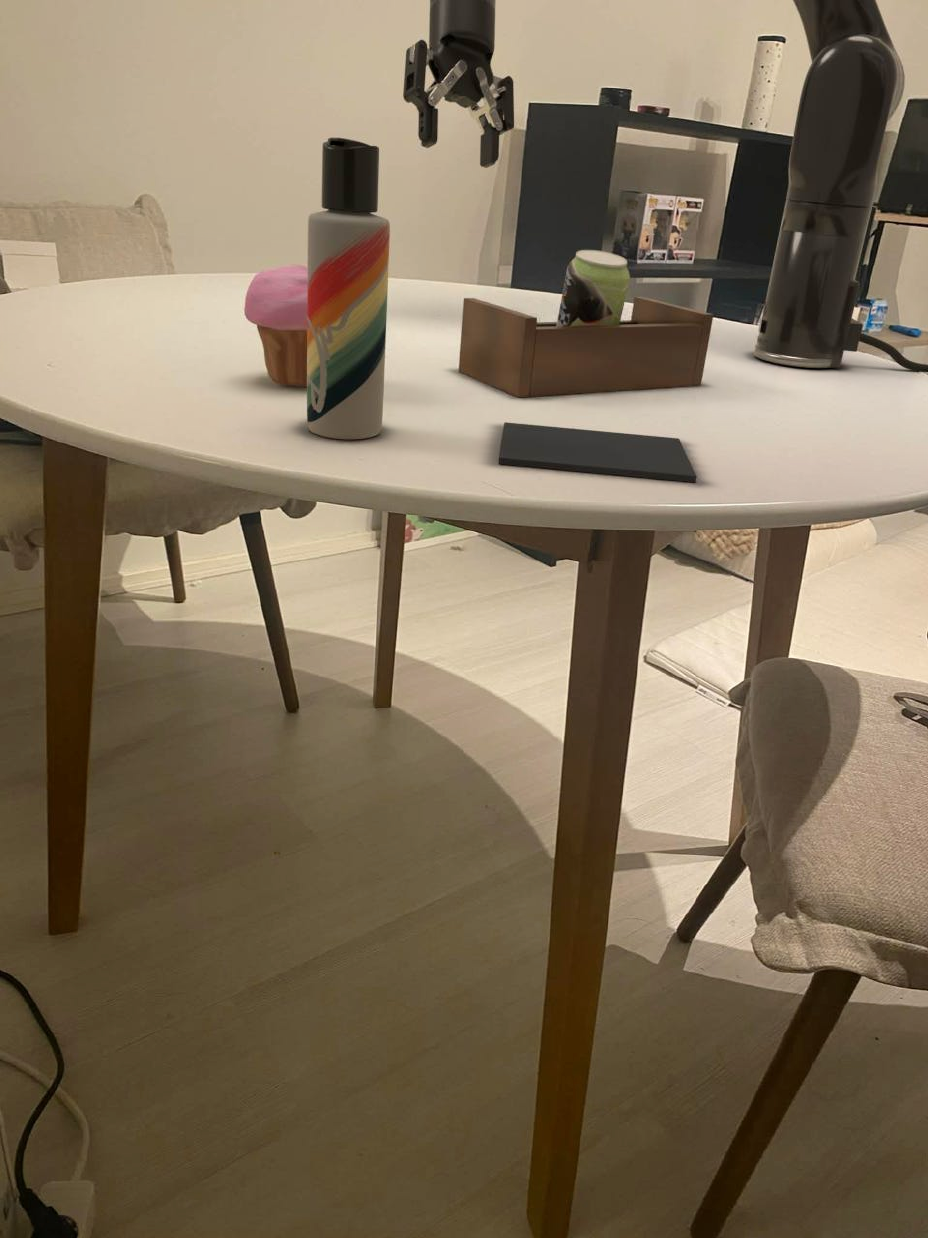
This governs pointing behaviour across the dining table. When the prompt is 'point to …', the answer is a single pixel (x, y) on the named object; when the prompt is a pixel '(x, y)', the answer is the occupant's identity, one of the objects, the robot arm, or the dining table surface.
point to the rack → (584, 350)
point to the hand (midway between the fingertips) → (459, 155)
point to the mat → (595, 452)
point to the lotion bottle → (347, 296)
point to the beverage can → (594, 289)
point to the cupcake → (281, 321)
